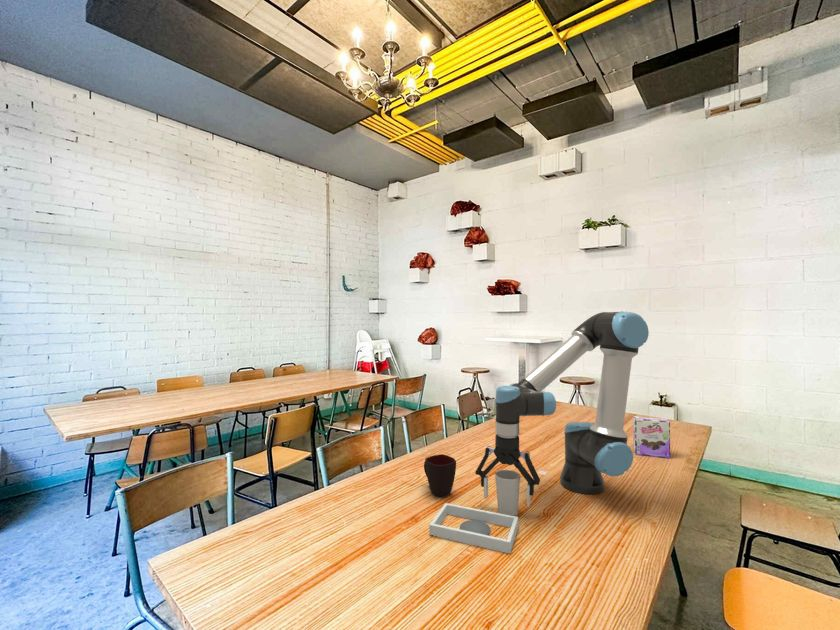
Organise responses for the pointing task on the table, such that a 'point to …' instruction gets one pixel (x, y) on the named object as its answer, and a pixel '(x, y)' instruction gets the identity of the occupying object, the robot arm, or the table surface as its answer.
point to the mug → (440, 474)
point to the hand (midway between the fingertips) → (506, 500)
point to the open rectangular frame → (473, 537)
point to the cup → (507, 491)
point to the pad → (476, 527)
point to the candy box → (651, 437)
